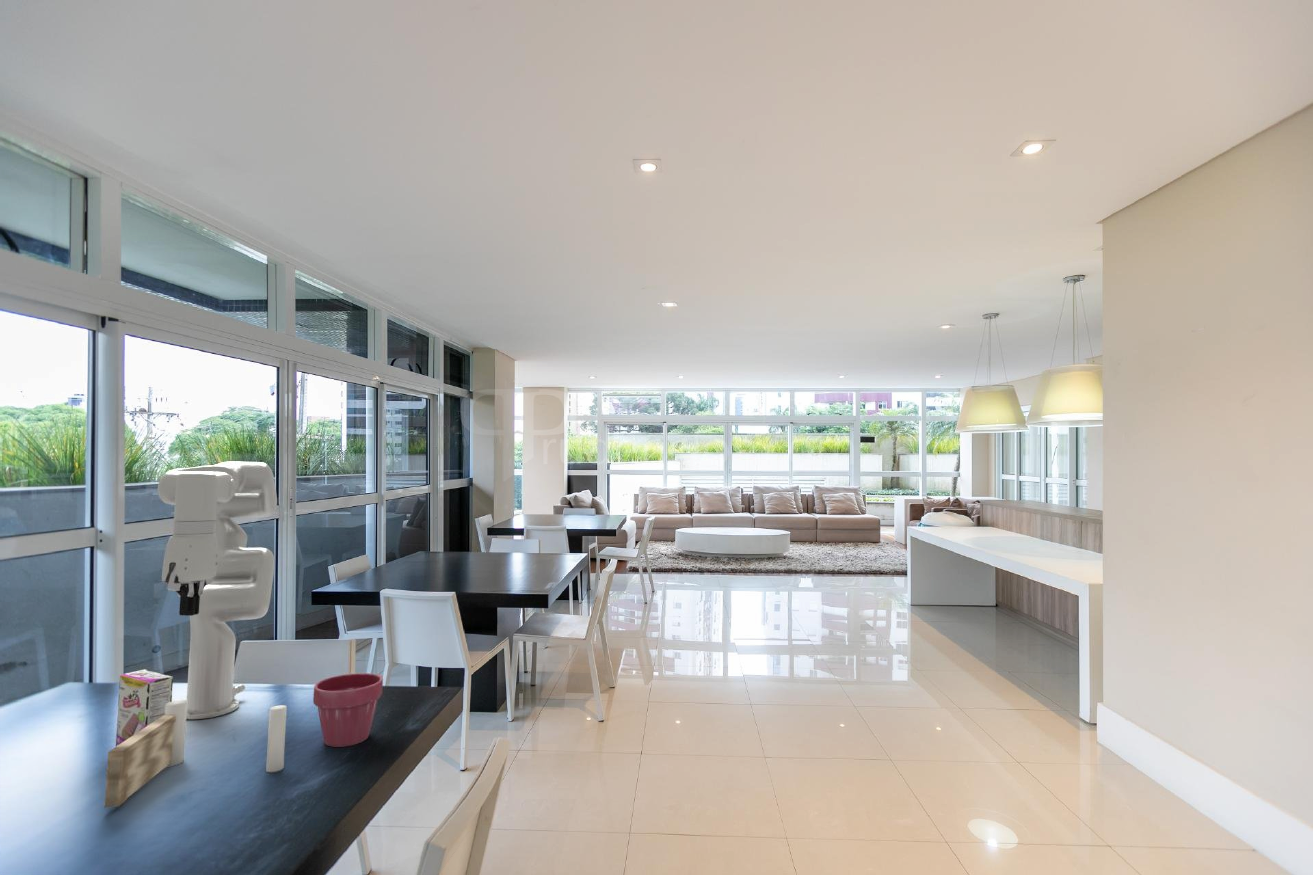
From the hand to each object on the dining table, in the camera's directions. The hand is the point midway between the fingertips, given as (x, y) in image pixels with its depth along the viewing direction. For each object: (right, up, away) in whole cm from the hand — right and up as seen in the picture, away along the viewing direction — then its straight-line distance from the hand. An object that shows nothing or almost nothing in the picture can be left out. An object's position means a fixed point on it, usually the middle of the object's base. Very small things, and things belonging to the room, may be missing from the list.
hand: (189, 614), depth 137 cm
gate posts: (+12, -29, -7) cm, 32 cm away
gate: (+4, -27, -17) cm, 32 cm away
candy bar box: (-8, -29, -2) cm, 30 cm away
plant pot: (+31, -30, +7) cm, 44 cm away
